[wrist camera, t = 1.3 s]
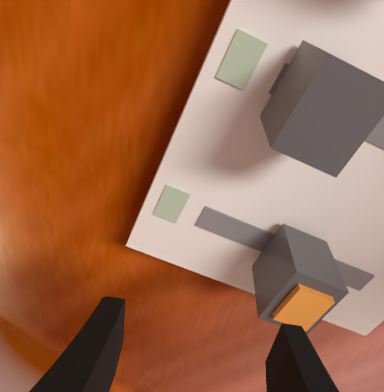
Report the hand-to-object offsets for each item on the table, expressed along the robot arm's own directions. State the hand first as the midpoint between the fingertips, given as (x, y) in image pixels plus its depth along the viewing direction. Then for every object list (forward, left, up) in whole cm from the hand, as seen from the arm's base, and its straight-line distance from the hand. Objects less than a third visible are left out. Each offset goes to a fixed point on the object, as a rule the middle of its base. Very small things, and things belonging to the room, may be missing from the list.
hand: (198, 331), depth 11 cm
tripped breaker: (-5, 0, -6) cm, 8 cm away
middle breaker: (-1, -7, -6) cm, 9 cm away
